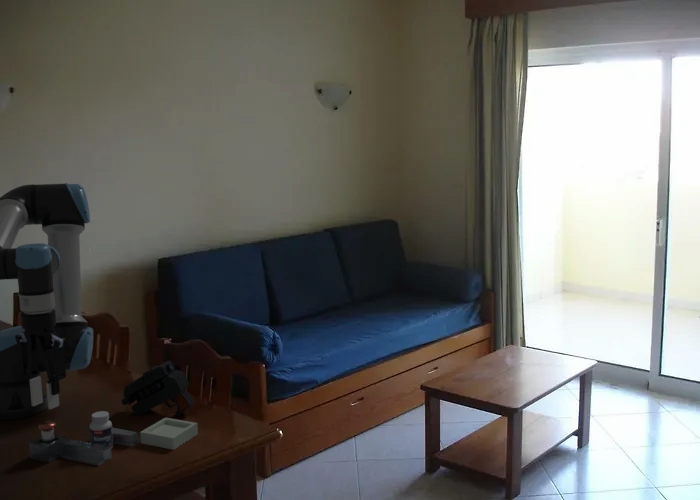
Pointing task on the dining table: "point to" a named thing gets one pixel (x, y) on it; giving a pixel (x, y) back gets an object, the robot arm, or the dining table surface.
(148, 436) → the tray
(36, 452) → the block
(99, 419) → the pill bottle
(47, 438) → the plunger
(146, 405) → the tool
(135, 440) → the socket
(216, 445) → the dining table surface
